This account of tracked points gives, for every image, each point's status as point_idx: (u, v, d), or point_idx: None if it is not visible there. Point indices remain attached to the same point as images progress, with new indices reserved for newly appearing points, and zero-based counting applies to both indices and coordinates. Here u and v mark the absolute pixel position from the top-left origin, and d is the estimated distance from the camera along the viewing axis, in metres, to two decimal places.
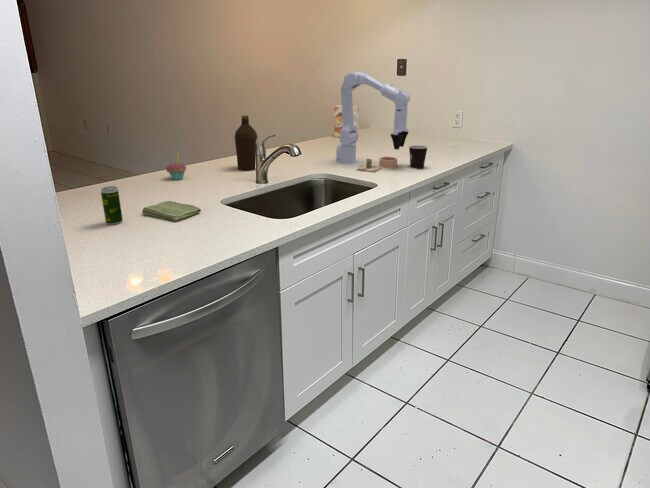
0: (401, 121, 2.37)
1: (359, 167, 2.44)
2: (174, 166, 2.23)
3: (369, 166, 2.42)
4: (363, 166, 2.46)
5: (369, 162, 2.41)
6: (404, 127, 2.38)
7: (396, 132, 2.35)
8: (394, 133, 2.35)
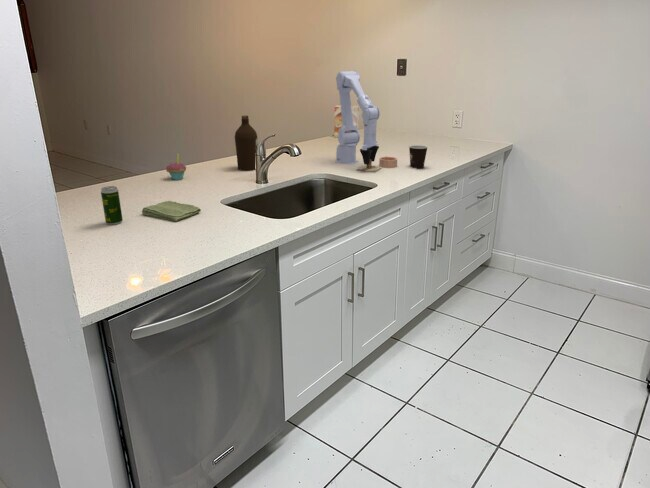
0: (370, 136, 2.35)
1: (359, 167, 2.44)
2: (174, 166, 2.23)
3: (369, 166, 2.42)
4: (363, 166, 2.46)
5: (369, 162, 2.41)
6: (373, 142, 2.37)
7: (365, 147, 2.33)
8: (363, 148, 2.34)
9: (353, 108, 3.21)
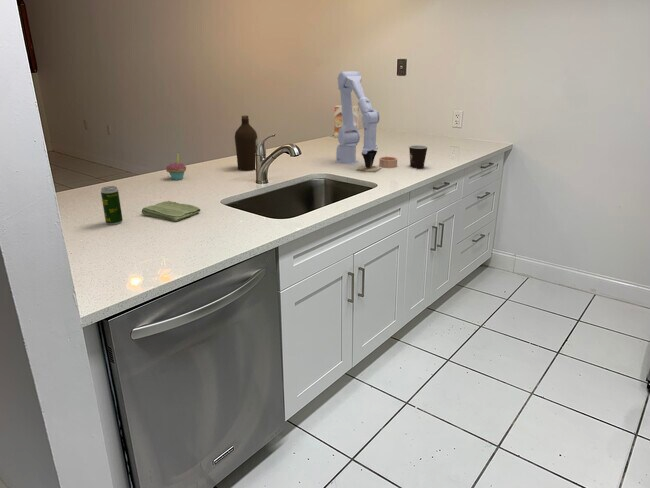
0: (370, 140, 2.36)
1: (359, 167, 2.44)
2: (174, 166, 2.23)
3: None
4: (363, 166, 2.46)
5: None
6: (373, 146, 2.37)
7: (365, 151, 2.34)
8: (363, 152, 2.34)
9: (353, 108, 3.21)
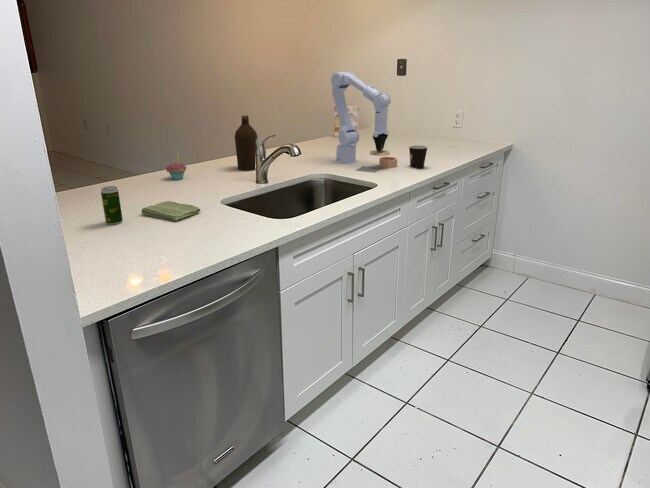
0: (381, 123, 2.37)
1: (370, 151, 2.45)
2: (174, 166, 2.23)
3: None
4: (374, 151, 2.47)
5: None
6: (384, 129, 2.38)
7: (376, 134, 2.35)
8: (374, 135, 2.35)
9: (353, 108, 3.21)
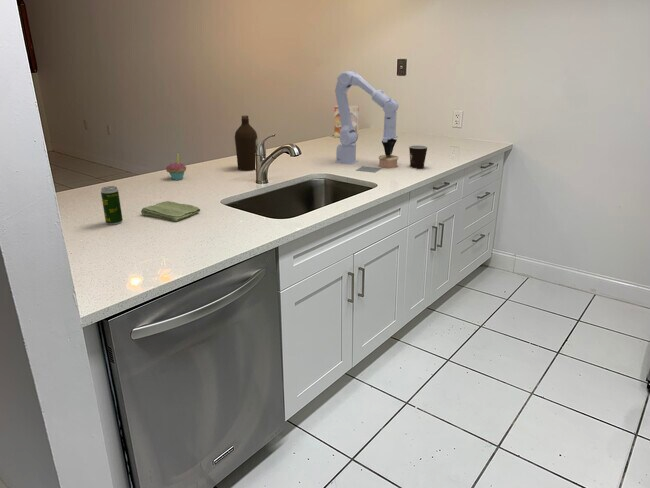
0: (390, 129, 2.41)
1: (379, 156, 2.49)
2: (174, 166, 2.23)
3: None
4: (382, 156, 2.51)
5: None
6: (393, 134, 2.43)
7: (385, 139, 2.39)
8: (383, 140, 2.40)
9: (353, 108, 3.21)
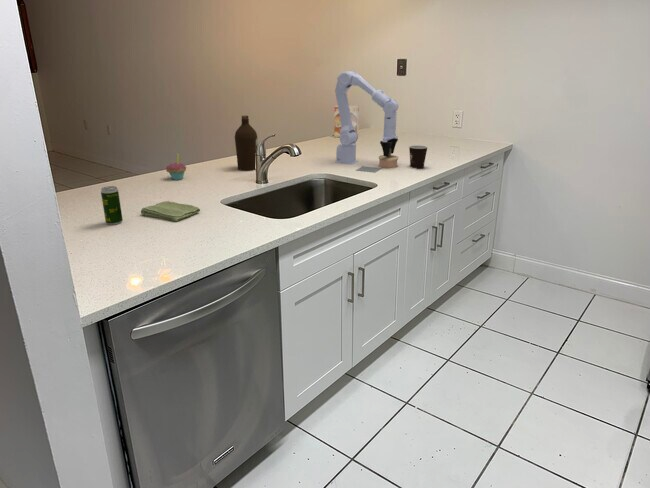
0: (390, 129, 2.41)
1: (379, 156, 2.49)
2: (174, 166, 2.23)
3: (389, 155, 2.48)
4: (382, 156, 2.51)
5: (389, 151, 2.47)
6: (393, 134, 2.43)
7: (385, 139, 2.39)
8: (383, 140, 2.40)
9: (353, 108, 3.21)
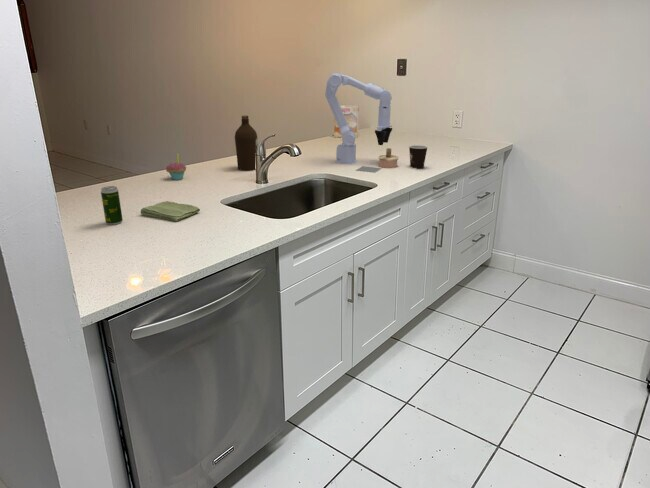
0: (384, 118, 2.47)
1: (379, 156, 2.49)
2: (174, 166, 2.23)
3: (389, 155, 2.48)
4: (382, 156, 2.51)
5: (389, 151, 2.47)
6: (388, 124, 2.48)
7: (380, 128, 2.45)
8: (378, 129, 2.45)
9: (353, 108, 3.21)
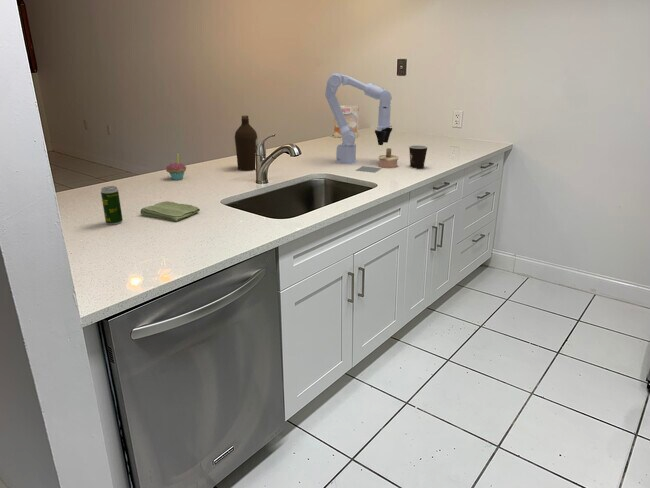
0: (384, 118, 2.47)
1: (379, 156, 2.49)
2: (174, 166, 2.23)
3: (389, 155, 2.48)
4: (382, 156, 2.51)
5: (389, 151, 2.47)
6: (388, 124, 2.48)
7: (380, 128, 2.45)
8: (378, 129, 2.45)
9: (353, 108, 3.21)
